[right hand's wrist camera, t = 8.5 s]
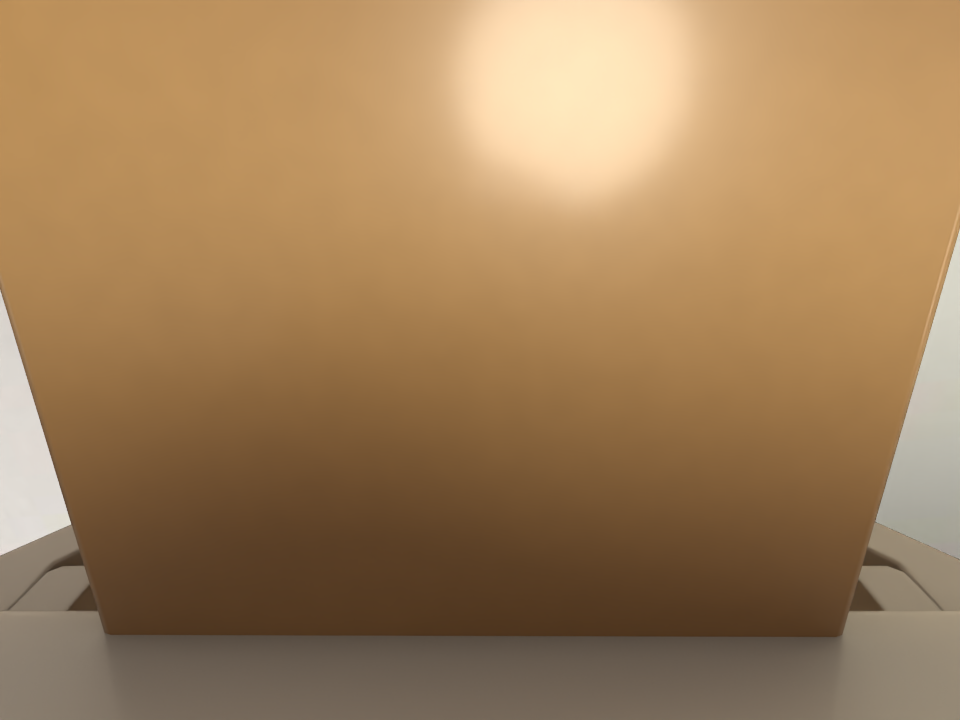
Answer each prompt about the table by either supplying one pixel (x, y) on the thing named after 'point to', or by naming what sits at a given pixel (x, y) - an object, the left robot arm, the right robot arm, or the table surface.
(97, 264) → the box
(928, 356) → the table surface
